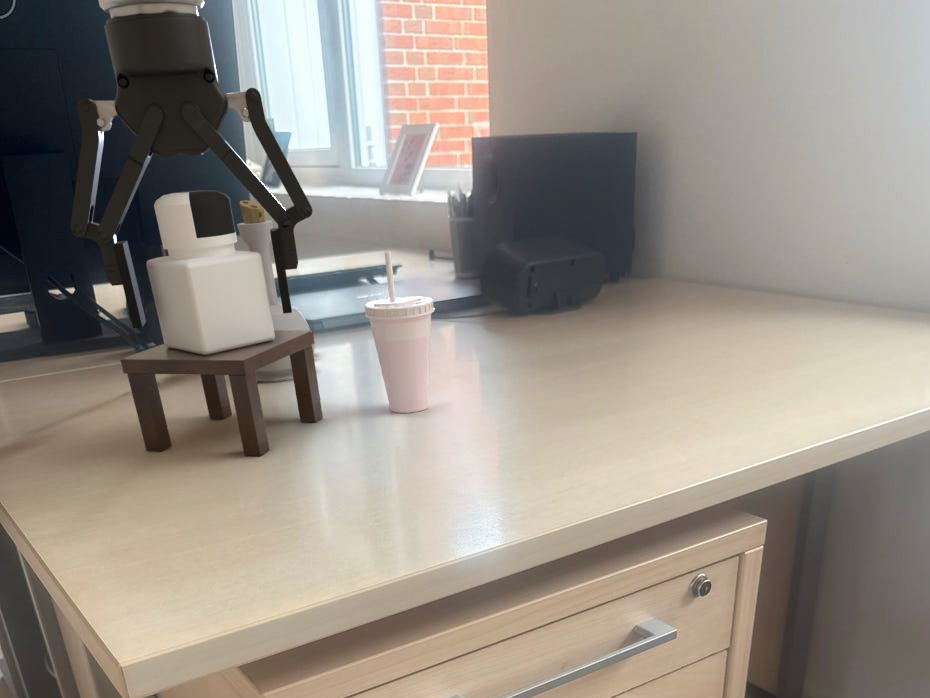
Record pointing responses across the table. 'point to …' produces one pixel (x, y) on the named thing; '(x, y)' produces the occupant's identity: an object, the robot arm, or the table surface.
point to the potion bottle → (269, 286)
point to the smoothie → (402, 345)
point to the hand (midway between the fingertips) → (214, 318)
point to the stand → (224, 385)
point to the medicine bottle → (207, 277)
